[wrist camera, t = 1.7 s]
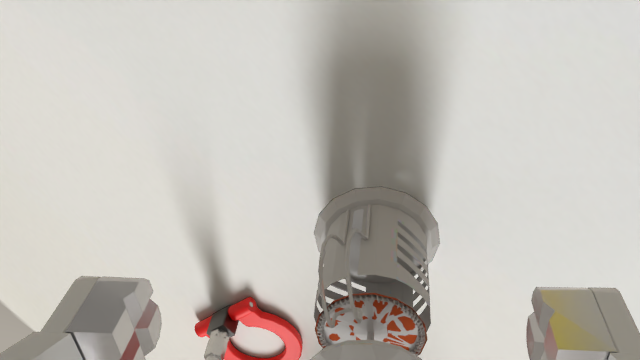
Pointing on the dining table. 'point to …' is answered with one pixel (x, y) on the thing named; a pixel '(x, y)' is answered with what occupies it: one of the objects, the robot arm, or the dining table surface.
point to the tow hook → (248, 313)
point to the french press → (374, 275)
